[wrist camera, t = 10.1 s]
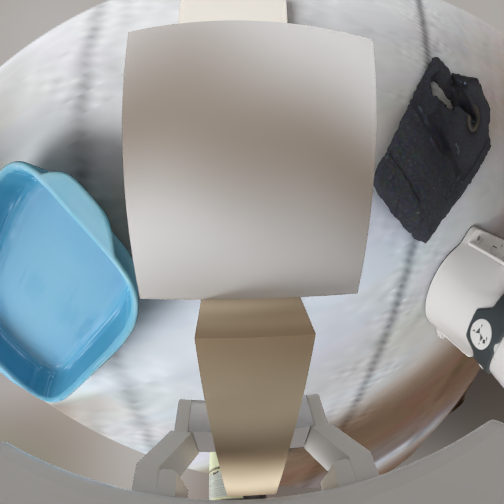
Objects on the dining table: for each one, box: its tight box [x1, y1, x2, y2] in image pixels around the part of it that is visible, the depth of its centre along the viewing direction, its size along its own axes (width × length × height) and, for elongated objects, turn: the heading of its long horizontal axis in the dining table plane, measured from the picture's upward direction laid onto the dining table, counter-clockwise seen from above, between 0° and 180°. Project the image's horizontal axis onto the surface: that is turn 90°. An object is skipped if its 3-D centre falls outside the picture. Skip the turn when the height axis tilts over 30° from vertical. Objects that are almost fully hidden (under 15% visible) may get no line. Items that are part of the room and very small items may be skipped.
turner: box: [122, 20, 376, 496], centre depth 8 cm, size 19×6×4 cm, turn 179°
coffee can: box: [209, 452, 266, 500], centre depth 37 cm, size 10×10×14 cm
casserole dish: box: [0, 161, 139, 402], centre depth 25 cm, size 37×22×7 cm, turn 132°
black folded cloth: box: [373, 57, 491, 243], centre depth 23 cm, size 15×22×5 cm
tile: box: [179, 0, 287, 24], centre depth 19 cm, size 2×10×10 cm
